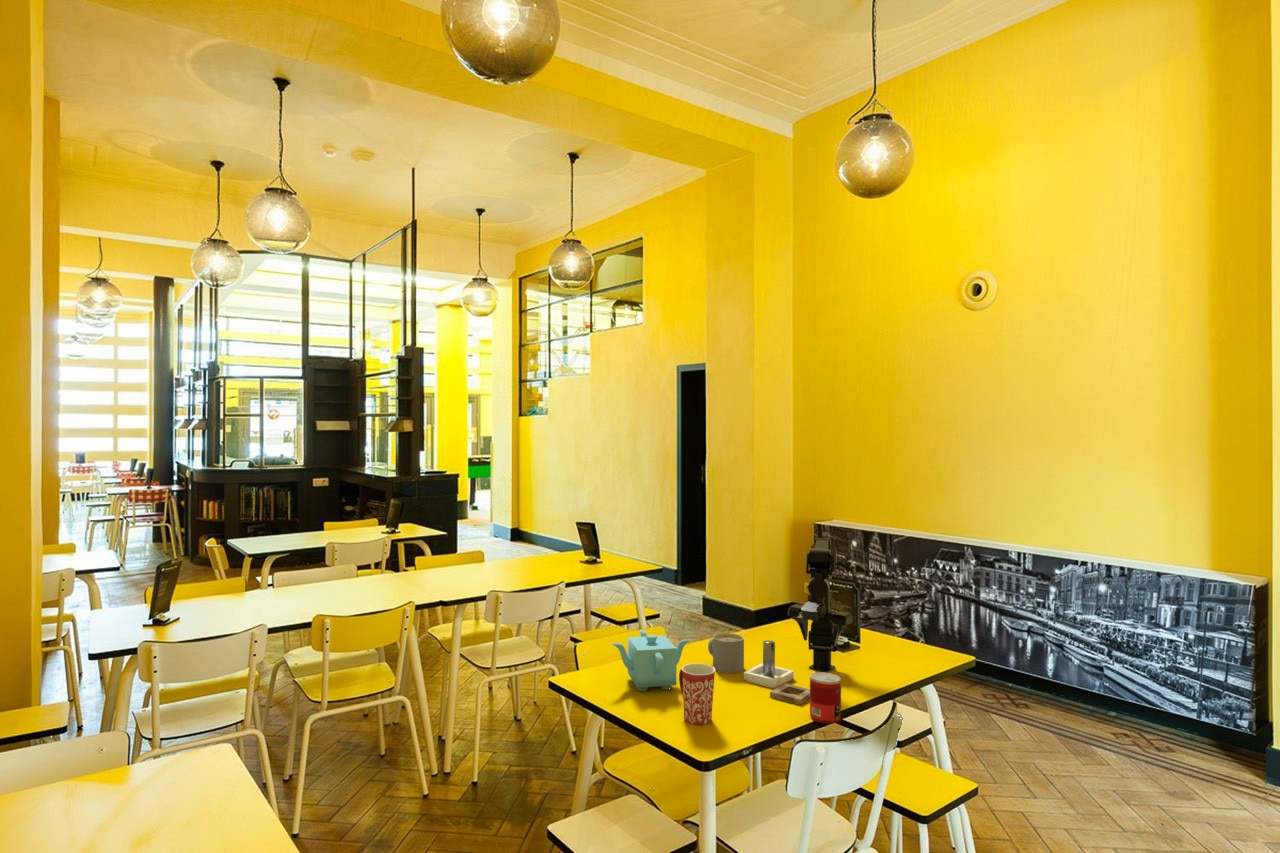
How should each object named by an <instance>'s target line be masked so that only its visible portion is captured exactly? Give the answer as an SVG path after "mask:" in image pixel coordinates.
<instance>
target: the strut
mask: <svg viewBox="0 0 1280 853" xmlns="http://www.w3.org/2000/svg"><path fill="white" fill-rule="evenodd" d="M762 664H763V676H767V677H771V678H775V667H776V642H775V641H773V640H769V639H768V640H763V641H762Z"/></svg>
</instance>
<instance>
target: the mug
mask: <svg viewBox="0 0 1280 853" xmlns="http://www.w3.org/2000/svg"><path fill="white" fill-rule="evenodd" d="M716 672H717V671H716V669H715V668H714V667H713V665H709V664H707V663H706V664H705V663H700V662H698V663H696V662H695V663H687V664H684V665H683V666H682V667H681V669H680V670H679V673H678V682H679V687H680V691H681V694H682V698H683V699H682V700H683V701H682V702H683V703H682V704H683V720H684V721H685V722H686V723H687V724H689V725H692V724H693V725H695V726H705V725H708V724H710V723H711V722H712V716H713V703H714V691H715V690H714V689H715V674H716Z"/></svg>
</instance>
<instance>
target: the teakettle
mask: <svg viewBox="0 0 1280 853" xmlns="http://www.w3.org/2000/svg"><path fill="white" fill-rule="evenodd" d="M639 631H640V636H633V637H632V636H631V637H627V650H626V648H625V646H624V644H622V643H619V642H612V643H610V645H612V646H614V647H615V648H617V649H618V651H619V654H620V656H621V661H622V663H623V665H624V666H625V668H627V673H628V676H629V677H630V679H631V681H632V683H634V686H635V687H636V688H637V691H639V692H646V690H647V691H648V688H654V687H655V688H656V687H657V688H658V687H660V689H661V688H662V689H661V690H663V689H669V688H670V687H671V686H677V679H678V678H677V670H678V669H677V668H678V667H677V665H678V664H679V663H680V660H681V657H682V654H683V650H684V647H685V646H686V644H687V643H689V642H691V641H692V639H691V638H685V639H681V640H680V641H679V642H678V644H677V646H675V645H674V644H673V643H672V641H670V639H669V638H668V637H667V636H666V635H656V634H648V635H647V631H646V630H645V629H640V630H639ZM669 690H670V689H669Z"/></svg>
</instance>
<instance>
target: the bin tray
mask: <svg viewBox="0 0 1280 853" xmlns="http://www.w3.org/2000/svg"><path fill="white" fill-rule="evenodd" d="M794 672H795V671H794V670H791V669H787V668H784V667H779V666H775V678H771V677H767V676H763V663H760V664H757V665H755V666H753V667H752V668H750V669H748V670H746V671H744V672H743V681H744V682H748V683H751V684H757V685H760V686H764V687H768V688H771V687H772V688H771V689H776V688H778V687H779V686H781V685H783V684H785V683H787V682H788V683H789V681H790V682H791V681H793V680H794V679H795V678H794V677H795V674H794ZM792 679H793V680H792ZM788 683H787V684H788Z"/></svg>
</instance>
